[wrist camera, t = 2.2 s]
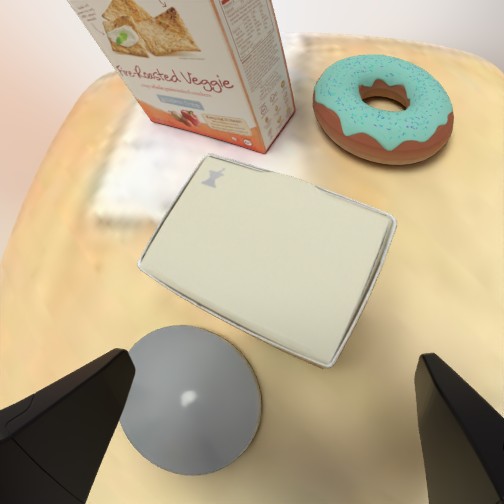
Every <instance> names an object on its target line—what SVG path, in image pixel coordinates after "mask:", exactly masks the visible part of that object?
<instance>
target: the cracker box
mask: <svg viewBox="0 0 504 504" xmlns="http://www.w3.org/2000/svg"><path fill="white" fill-rule="evenodd" d="M67 1H68V2H69V4H70V5H71V7H72V8H73V9H74V11H75V12H76V14H77V15H78V16H79V18H80V19H81V21H82V22H83V24H84V25H85V26H86V28H87V30H88V31H89V32H90V34H91V35H92V37H93V38H94V40H95V41H96V42H97V44H98V45H99V47H100V48H101V50H102V51H103V53H104V54H105V56H106V57H107V58H108V60H109V61H110V63H111V64H112V66H113V67H114V69H115V70H116V71H117V73H118V74H119V76H120V77H121V79H122V80H123V81H124V83H125V84H126V86H127V87H128V88H129V90H130V91H131V93H132V94H133V96H134V97H135V98H136V100H137V101H138V103H139V104H140V106H141V107H142V108H143V110H144V111H145V113H146V114H147V115H148V117H149V118H150V120H151V121H152V122H157V123H161V124H165V125H169V126H173V127H177V128H181V129H184V130H188V131H192V132H195V133H199V134H202V135H206V136H209V137H213V138H216V139H219V140H223V141H226V142H229V143H233V144H236V145H239V146H242V147H245V148H248V149H251V150H254V151H258V152H260V153H265V152H266V151H267V150H268V148H269V147H270V145H271V144H272V143H273V141H274V140H275V138H276V137H277V136H278V134H279V133H280V131H281V130H282V128H283V127H284V126H285V124H286V123H287V121H288V120H289V119H290V117H291V116H292V114H293V113H294V112H295V105H294V98H293V93H292V89H291V83H290V79H289V74H288V69H287V64H286V60H285V55H284V50H283V46H282V42H281V37H280V33H279V29H278V25H277V21H276V17H275V13H274V9H273V5H272V1H271V0H67Z"/></svg>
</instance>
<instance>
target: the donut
mask: <svg viewBox="0 0 504 504" xmlns="http://www.w3.org/2000/svg"><path fill="white" fill-rule="evenodd" d="M372 96H383V97H388V98H391V99H394V100H396V101H398V102H400V103H401V104H403V105H404V106H405V107H406V108H407V109H406V110H404V111H398V112H392V111H384V110H379V109H376V108H373V107H371V106H369V105H367V104H366V103H364V102H363V101H362V99H365V98H367V97H372ZM313 108H314V112H315V115H316V118H317V120H318V122H319V123H320V125H321V127H322V128H323V129H324V131H325V132H326V134H327V135H328V136H329V137H330V138H331V139H332V140H333V141H334V142H335V143H336V144H338V145H339V146H340V147H342V148H343V149H344V150H346V151H348V152H350V153H352V154H354V155H356V156H358V157H361V158H363V159H366V160H369V161H372V162H377V163H382V164H392V165H404V164H413V163H416V162H420V161H423V160H425V159H427V158H429V157H431V156H432V155H434V154H435V153H436V152H438V151H439V150H440V149H441V148H442V147H443V146H444V145H445V144H446V142H447V141H448V139H449V137H450V135H451V133H452V128H453V120H454V115H453V108H452V104H451V102H450V99H449V97H448V95H447V93H446V91H445V90H444V88H443V87H442V86H441V84H440V83H439V82H438V81H437V80H435V79H434V78H433V77H432V76H431V75H430V74H429V73H428V72H426V71H425V70H423V69H422V68H420V67H418V66H416V65H414V64H412V63H410V62H407V61H404V60H401V59H398V58H394V57H390V56H385V55H359V56H354V57H349V58H346V59H343V60H340V61H337V62H336V63H334V64H333V65H332V66H330V67H329V68H327V69H326V70H325V72H324V73H323V74H322V75H321V77H320V78H319V80H318V81H317V83H316V86H315V87H314V93H313Z"/></svg>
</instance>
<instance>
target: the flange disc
mask: <svg viewBox="0 0 504 504" xmlns="http://www.w3.org/2000/svg"><path fill="white" fill-rule="evenodd" d="M128 353H129V355H130V357H131V359H132V361H133V363H134V366H135V369H136V373H135V376H134V379H133V383H132V386H131V389H130V392H129V395H128V398H127V401H126V404H125V407H124V410H123V412H122V415H121V417H120V420H119V421H120V423H121V426H122V428H123V430H124V432H125V434H126V436H127V438H128V439H129V441H130V442H131V443H132V445H133V446H134V447H135V448H136V450H137V451H138V452H139V453H140V454H141V455H142V456H143V457H145V458H146V459H147V460H149V461H150V462H151V463H153V464H155V465H156V466H158V467H160V468H162V469H164V470H167V471H170V472H173V473H176V474H182V475H203V474H208V473H212V472H215V471H217V470H220V469H222V468H224V467H225V466H227V465H229V464H230V463H231V462H233V461H234V460H235V459H236V458H237V457H239V456H240V455H241V454H242V453H243V452H244V451H245V450H246V449H247V447H248V446H249V445H250V443H251V442H252V440H253V438H254V437H255V434H256V432H257V430H258V427H259V423H260V419H261V410H262V402H261V393H260V388H259V384H258V381H257V378H256V376H255V374H254V371H253V369H252V367H251V366H250V364H249V363H248V361H247V360H246V358H245V357H244V356H243V355H242V353H241V352H240V351H239V350H238V349H237V348H236V347H235V346H234V345H232V344H231V343H229V342H228V341H227V340H225V339H224V338H222V337H220V336H218V335H216V334H214V333H211V332H209V331H206V330H203V329H200V328H196V327H193V326H184V325H179V326H169V327H164V328H161V329H157V330H155V331H153V332H151V333H149V334H147V335H146V336H144V337H143V338H141V339H140V340H139V341H138V342H137V343H136V344H135V345H134V346H133V347H132V348H131V349H130V351H129V352H128Z"/></svg>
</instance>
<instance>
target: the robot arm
mask: <svg viewBox="0 0 504 504" xmlns="http://www.w3.org/2000/svg"><path fill="white" fill-rule="evenodd" d="M135 373H136V369H135V366H134V363H133V361H132V359H131V357H130V355H129V353H128V351H127V350H125V349H120V348H115V349H113V350H111V351H109V352H108V353H106V354H104V355H102V356H101V357H99V358H97V359H95V360H93V361H92V362H90V363H88V364H86V365H85V366H83V367H81V368H79V369H77V370H76V371H74V372H72V373H70V374H68V375H67V376H65V377H63V378H61V379H59V380H58V381H56V382H54V383H52V384H50V385H49V386H47V387H45V388H43V389H41V390H40V391H38V392H36V393H35V394H32V395H30V396H29V397H27V398H25V399H23V400H21V401H19V402H17V403H15V404H13V405H11V406H9V407H6V408H4V409H2V410H0V504H85V503H86V500H87V498H88V495H89V493H90V490H91V487H92V485H93V482H94V480H95V477H96V475H97V472H98V470H99V467H100V465H101V462H102V460H103V457H104V455H105V453H106V450H107V448H108V445H109V443H110V441H111V438H112V436H113V434H114V431H115V429H116V427H117V424H118V422H119V420H120V417H121V415H122V412H123V410H124V407H125V404H126V401H127V398H128V395H129V392H130V389H131V386H132V383H133V379H134V376H135ZM414 380H415V391H416V402H417V415H418V427H419V434H420V440H421V445H422V452H423V458H424V465H425V472H426V480H427V488H428V498H429V504H504V418H503V417H502V416H501V415H500V414H499V413H498V412H497V411H496V410H495V409H494V408H493V407H492V406H491V405H490V404H489V403H488V402H487V401H486V400H485V399H484V398H483V397H482V396H481V395H479V394H478V393H477V392H476V391H475V390H474V389H473V388H472V387H471V386H470V385H469V384H468V383H467V382H466V381H465V380H464V379H463V378H461V377H460V376H459V375H458V374H457V373H456V372H455V371H454V370H453V369H452V368H451V367H450V366H448V365H447V364H446V363H445V362H444V361H443V360H442V359H441V358H440V357H439V356H438V355H436V354H435V353H425V354H421V355H420V357H419V361H418V365H417V369H416V372H415V379H414Z"/></svg>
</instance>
